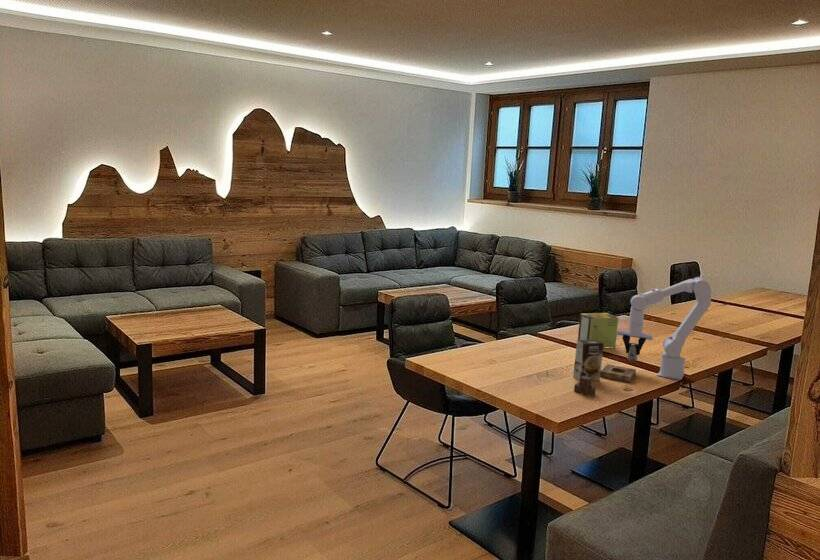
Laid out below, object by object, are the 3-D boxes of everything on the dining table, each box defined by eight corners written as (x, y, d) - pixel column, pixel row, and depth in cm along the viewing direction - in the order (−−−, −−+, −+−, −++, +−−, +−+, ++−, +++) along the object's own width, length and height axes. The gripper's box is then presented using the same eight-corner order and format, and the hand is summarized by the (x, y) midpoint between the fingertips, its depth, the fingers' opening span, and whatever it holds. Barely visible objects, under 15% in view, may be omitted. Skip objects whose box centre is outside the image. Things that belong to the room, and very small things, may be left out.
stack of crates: (611, 394, 250) (613, 377, 249) (594, 403, 239) (596, 386, 237) (576, 384, 260) (578, 367, 258) (558, 392, 248) (560, 375, 247)
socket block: (635, 375, 272) (635, 369, 272) (629, 382, 262) (629, 377, 262) (606, 369, 278) (607, 364, 278) (599, 376, 268) (600, 371, 268)
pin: (637, 359, 278) (639, 343, 276) (635, 361, 274) (637, 345, 273) (628, 357, 280) (630, 342, 278) (626, 359, 276) (628, 344, 275)
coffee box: (580, 381, 261) (584, 343, 258) (572, 376, 267) (576, 339, 264) (600, 380, 263) (604, 343, 260) (592, 375, 269) (595, 338, 266)
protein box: (615, 348, 313) (619, 317, 310) (587, 349, 309) (590, 318, 306) (604, 342, 323) (607, 312, 320) (576, 343, 319) (579, 313, 316)
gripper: (655, 323, 274) (651, 354, 276) (620, 318, 281) (617, 348, 284) (652, 327, 268) (648, 358, 270) (617, 321, 275) (614, 352, 278)
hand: (632, 353), depth 277 cm, fingers closed on pin, 4 cm apart
